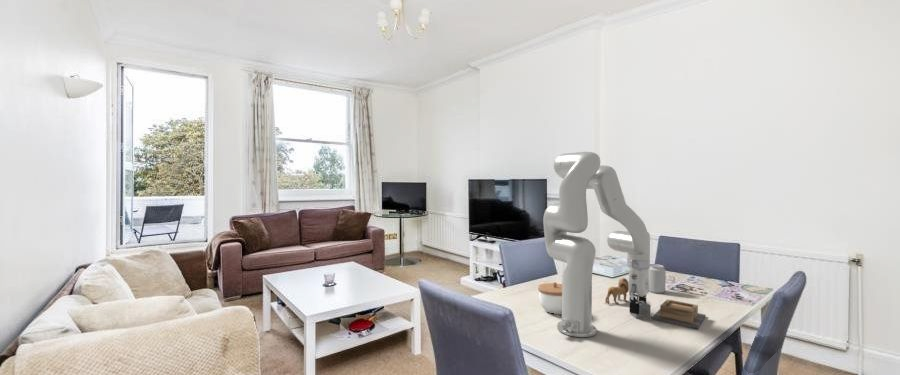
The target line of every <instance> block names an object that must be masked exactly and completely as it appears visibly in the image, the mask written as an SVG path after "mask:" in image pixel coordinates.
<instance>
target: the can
mask: <svg viewBox="0 0 900 375" xmlns="http://www.w3.org/2000/svg"><path fill="white" fill-rule="evenodd" d="M649 289H650V290H649V292H650V293H653V294H664V293H665V292H666V268H665V266H664V265H663V264H658V263H656V264H655V263H650V269H649ZM649 292H648V293H649Z"/></svg>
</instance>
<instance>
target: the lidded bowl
mask: <svg viewBox="0 0 900 375" xmlns="http://www.w3.org/2000/svg"><path fill="white" fill-rule="evenodd" d="M537 290H538V300H539V304H540V306H541V307H542V308H543V309H544V311H545V310H546V311H547V312H546V311H545V312H546V313H548V312H549V313H548V314H551V313H554V314H553V315H562V283H557V282H556V281H555V282H549V283H548V282H546V283H541V284H539V285H538V287H537Z"/></svg>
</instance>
